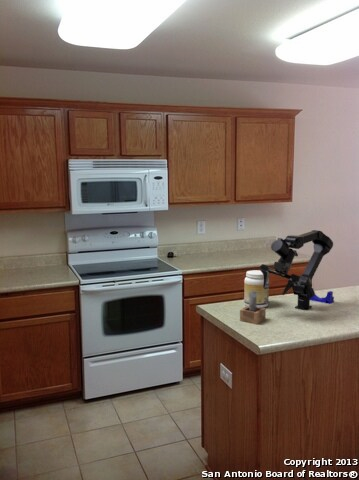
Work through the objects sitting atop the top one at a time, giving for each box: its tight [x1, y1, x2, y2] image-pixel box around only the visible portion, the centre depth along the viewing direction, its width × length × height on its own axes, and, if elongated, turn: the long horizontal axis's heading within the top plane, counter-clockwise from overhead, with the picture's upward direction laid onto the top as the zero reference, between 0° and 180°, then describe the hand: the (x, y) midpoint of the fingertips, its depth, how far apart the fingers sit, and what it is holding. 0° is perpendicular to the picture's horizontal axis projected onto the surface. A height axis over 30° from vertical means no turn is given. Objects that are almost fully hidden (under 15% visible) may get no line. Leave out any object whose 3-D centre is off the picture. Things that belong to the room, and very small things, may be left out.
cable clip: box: [310, 287, 335, 305], centre depth 216 cm, size 12×4×6 cm, turn 46°
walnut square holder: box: [239, 306, 266, 325], centre depth 189 cm, size 8×8×5 cm
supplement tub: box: [243, 269, 270, 308], centre depth 210 cm, size 12×12×17 cm
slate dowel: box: [249, 291, 257, 312], centre depth 188 cm, size 3×3×13 cm
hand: (273, 291), depth 189 cm, fingers open, 9 cm apart
